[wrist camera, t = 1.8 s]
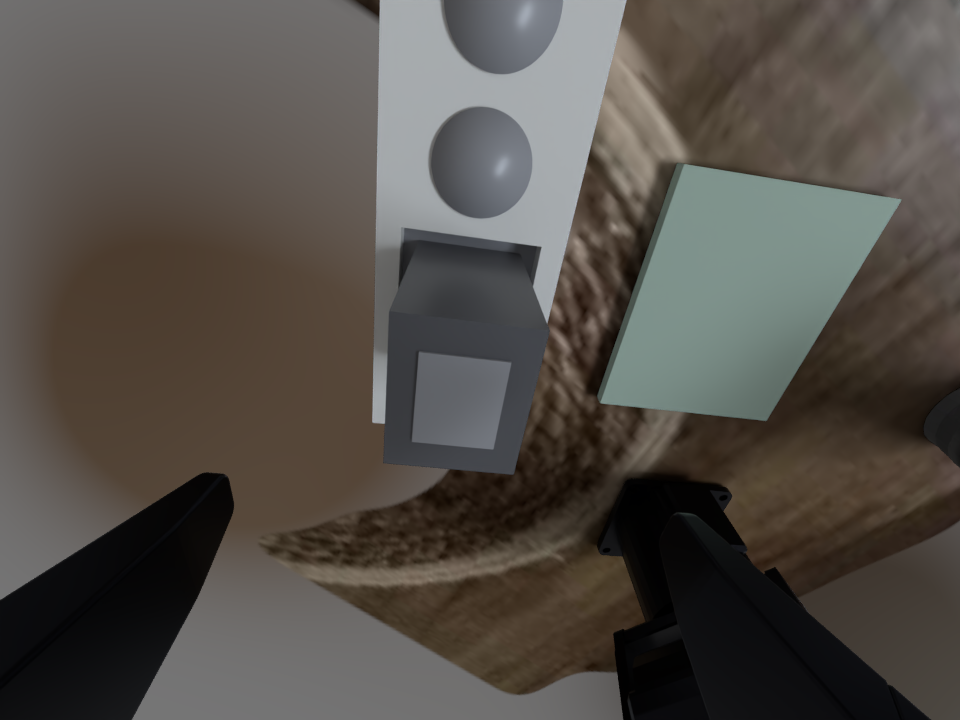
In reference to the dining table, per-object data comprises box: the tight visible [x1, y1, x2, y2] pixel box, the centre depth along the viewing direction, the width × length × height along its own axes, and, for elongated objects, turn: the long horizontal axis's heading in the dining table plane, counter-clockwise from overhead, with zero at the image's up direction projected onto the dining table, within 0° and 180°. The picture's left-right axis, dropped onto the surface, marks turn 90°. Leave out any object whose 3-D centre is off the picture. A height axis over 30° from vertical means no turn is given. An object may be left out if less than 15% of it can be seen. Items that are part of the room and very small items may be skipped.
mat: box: [597, 163, 901, 421], centre depth 19 cm, size 11×9×1 cm
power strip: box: [372, 0, 626, 424], centre depth 15 cm, size 20×7×3 cm, turn 172°
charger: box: [383, 240, 550, 475], centre depth 14 cm, size 5×4×7 cm
